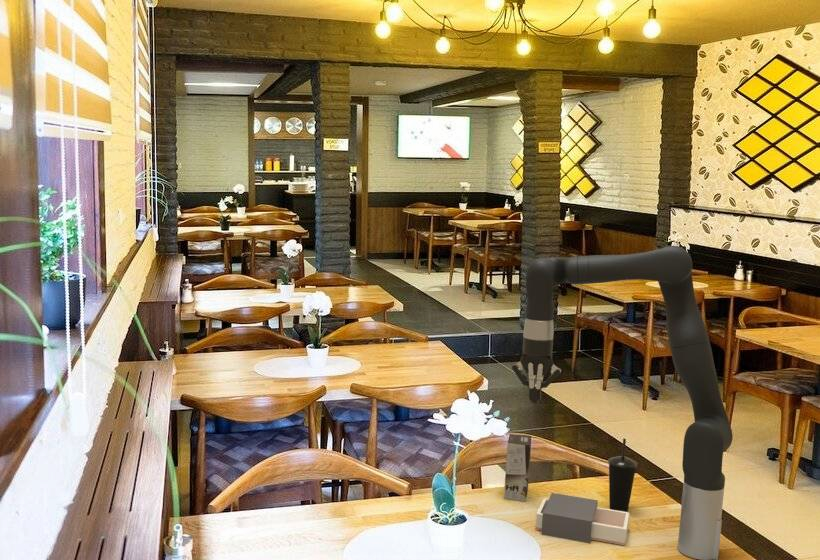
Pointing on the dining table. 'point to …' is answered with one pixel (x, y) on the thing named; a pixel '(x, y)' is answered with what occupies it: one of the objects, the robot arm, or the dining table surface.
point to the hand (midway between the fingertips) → (534, 402)
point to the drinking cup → (621, 480)
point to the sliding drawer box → (600, 524)
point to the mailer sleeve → (569, 517)
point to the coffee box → (517, 467)
